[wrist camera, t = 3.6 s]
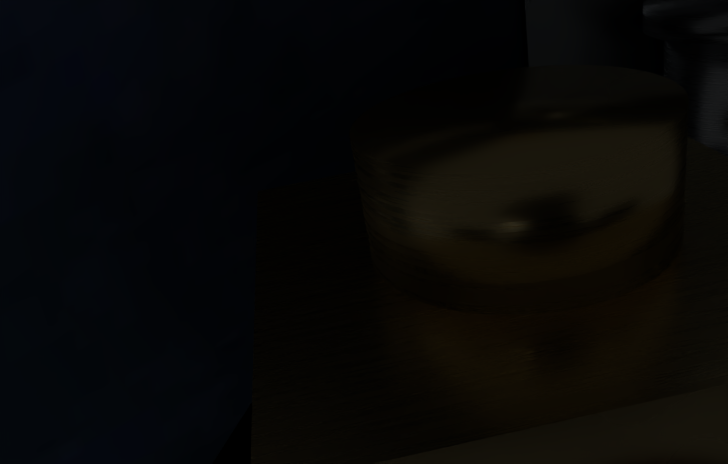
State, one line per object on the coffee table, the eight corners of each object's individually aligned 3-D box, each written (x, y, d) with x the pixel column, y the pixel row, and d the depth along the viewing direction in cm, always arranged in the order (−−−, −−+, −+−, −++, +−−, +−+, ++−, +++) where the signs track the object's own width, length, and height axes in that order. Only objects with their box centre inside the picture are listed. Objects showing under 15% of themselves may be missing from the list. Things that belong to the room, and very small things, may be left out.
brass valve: (638, 471, 11) (925, 894, 6) (345, 539, 11) (408, 1031, 6) (641, 17, 8) (1205, 159, 3) (234, 97, 8) (184, 379, 3)
